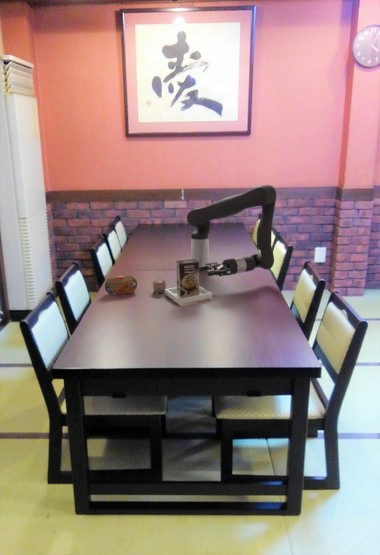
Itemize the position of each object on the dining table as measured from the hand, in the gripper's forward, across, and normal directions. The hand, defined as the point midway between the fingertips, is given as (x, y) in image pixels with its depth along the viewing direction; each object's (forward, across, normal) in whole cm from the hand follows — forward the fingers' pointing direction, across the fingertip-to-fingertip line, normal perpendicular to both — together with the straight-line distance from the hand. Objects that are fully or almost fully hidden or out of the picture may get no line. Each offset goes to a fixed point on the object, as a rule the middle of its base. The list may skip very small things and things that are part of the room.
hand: (203, 271), depth 214 cm
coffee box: (+8, 0, +10) cm, 13 cm away
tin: (+33, -21, +11) cm, 41 cm away
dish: (+8, 0, +11) cm, 14 cm away
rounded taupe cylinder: (+16, -14, +11) cm, 24 cm away
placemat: (+8, 0, +11) cm, 14 cm away
